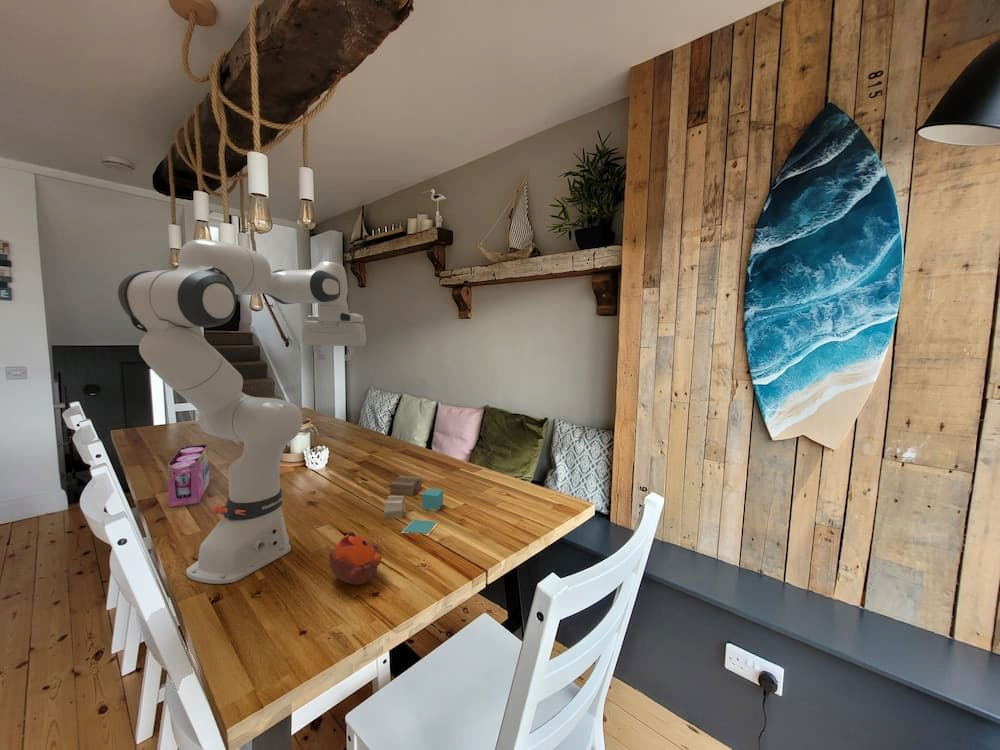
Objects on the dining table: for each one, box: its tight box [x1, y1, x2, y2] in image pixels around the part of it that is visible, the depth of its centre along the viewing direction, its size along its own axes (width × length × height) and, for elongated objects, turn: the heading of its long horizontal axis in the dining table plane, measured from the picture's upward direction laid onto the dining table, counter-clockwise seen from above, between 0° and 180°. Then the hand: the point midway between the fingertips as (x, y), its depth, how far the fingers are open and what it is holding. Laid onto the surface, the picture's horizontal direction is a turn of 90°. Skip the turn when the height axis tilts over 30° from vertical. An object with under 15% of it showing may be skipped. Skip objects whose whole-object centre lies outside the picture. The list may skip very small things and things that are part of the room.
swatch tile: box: [401, 518, 438, 534], centre depth 117 cm, size 8×8×1 cm
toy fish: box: [328, 532, 383, 586], centre depth 92 cm, size 12×10×11 cm
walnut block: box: [389, 475, 422, 497], centre depth 143 cm, size 8×8×4 cm
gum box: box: [167, 443, 211, 508], centre depth 137 cm, size 24×8×14 cm, turn 28°
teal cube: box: [421, 488, 444, 511], centre depth 131 cm, size 5×5×5 cm
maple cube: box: [384, 495, 406, 519], centre depth 125 cm, size 5×5×5 cm
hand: (334, 360), depth 130 cm, fingers open, 8 cm apart
